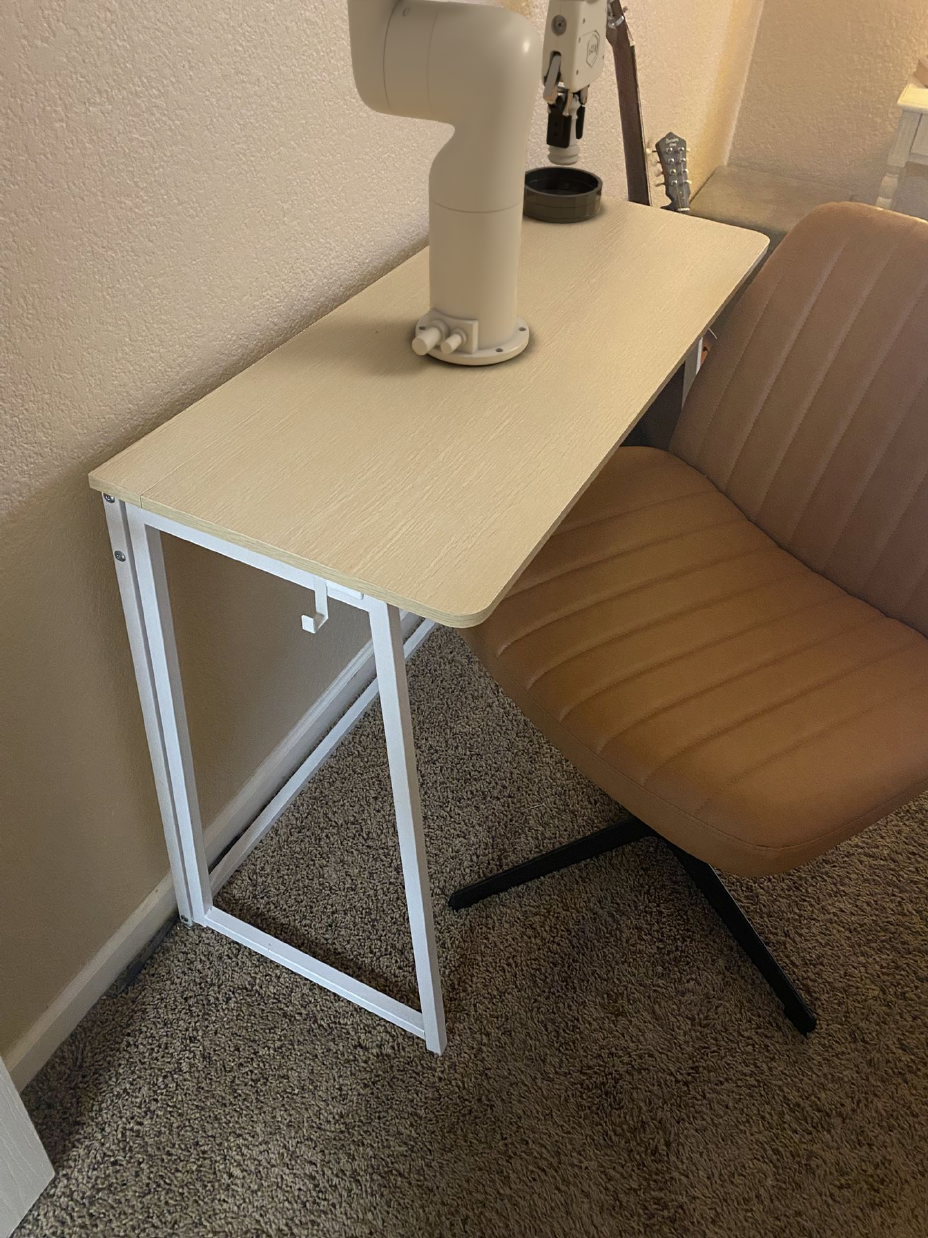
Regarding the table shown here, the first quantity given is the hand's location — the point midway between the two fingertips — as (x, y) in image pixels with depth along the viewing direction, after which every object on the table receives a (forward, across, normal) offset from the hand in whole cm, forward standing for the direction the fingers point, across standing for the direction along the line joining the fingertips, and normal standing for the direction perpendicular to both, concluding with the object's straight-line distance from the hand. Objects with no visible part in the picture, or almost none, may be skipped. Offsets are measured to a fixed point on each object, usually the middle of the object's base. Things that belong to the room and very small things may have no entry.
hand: (564, 139), depth 126 cm
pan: (+9, 0, 0) cm, 9 cm away
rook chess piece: (+3, 0, 0) cm, 3 cm away
